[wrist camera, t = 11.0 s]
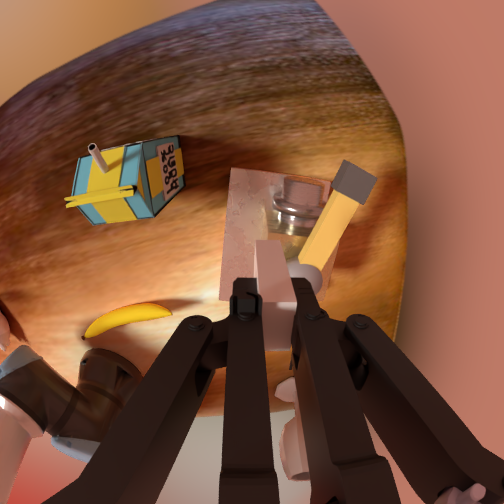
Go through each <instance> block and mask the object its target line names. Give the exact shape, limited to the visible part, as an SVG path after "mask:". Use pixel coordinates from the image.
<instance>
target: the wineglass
mask: <svg viewBox="0 0 504 504" xmlns="http://www.w3.org/2000/svg"><path fill="white" fill-rule="evenodd" d="M275 396H276V397H277V398H279V399H281V400H283V401H285V402H294V408H295V417H294V418H293V419H292V420H290V421H289V422H288V423H287V424H285V426H284V428H283V430H282V434H281V439H280V443H279V447H280V457H281V461H282V465H283V469H284V471H285V474H286V475H287V478H288V479H289V480H293V481H309V480H310V475H309V468H308V461H307V454H306V447H305V441H304V434H303V428H302V421H301V415H300V409H299V403H298V397H297V390H296V384H295V378H294V377H290V378H288V379H286V380H285V381H283V382H281V383H279V384H278V385H277V388H276V391H275Z"/></svg>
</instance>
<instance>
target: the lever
mask: <svg viewBox="0 0 504 504" xmlns="http://www.w3.org/2000/svg"><path fill="white" fill-rule="evenodd" d="M377 179H378V178H376V177H375V176H373V175H371V174H370V173H368V172H366V171H365V170H363V169H361V168H359V167H358V166H356V165H354V164H352V163H350V162H348V161H346V160H343V162H342V164H341V166H340V168H339V170H338V172H337V174H336V176H335V178H334V180H333V182H332V184H331V187H332V188H333V189H334V190H333V192H332V194H331V196H330V198H329V200H328V202H327V204H326V206H325V208H324V209H323V211H322V213H321V215H320V217H319V219H318V221H317V223H316V225H315V226H314V228H313V230H312V232H311V234H310V236H309V238H308V239H307V241H306V243H305V245H304V247H303V249H302V250H301V252H300V254H299V256H296V257H293V258H290V259H289V260H287V261H286V264H287V267H288V271H289V274H290V277H305V278H306V279H307V280H308V281H309V282H310V283H311V285H312V288H313V291H314V294H315V295H316V294H317V293H318V292H319V291H320V289H321V287H322V284H323V278H322V275H321V270H322V268H323V267H324V265H325V263H326V262H327V260H328V258H329V257H330V255H331V253H332V251H333V250H334V248H335V246H336V245H337V243H338V241H339V239H340V238H341V236H342V234H343V232H344V230H345V229H346V227H347V225H348V223H349V221H350V220H351V218H352V216H353V214H354V212H355V210H356V209H357V207H358V205H359V203H360V204H362V205H364V204H365V202H366V200H367V198H368V196H369V194H370V192H371V190H372V188H373V186H374V185H375V183H376V181H377Z"/></svg>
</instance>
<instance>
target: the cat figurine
mask: <svg viewBox="0 0 504 504" xmlns="http://www.w3.org/2000/svg"><path fill="white" fill-rule="evenodd" d="M9 337H10V328H9V324H8V321H7V319H6V318H5V316H4V315H3V314H2V313H1V310H0V348H1V349H2V350H3V351H6V345H7V346H9V345H10V339H9Z"/></svg>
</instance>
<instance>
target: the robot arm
mask: <svg viewBox="0 0 504 504" xmlns="http://www.w3.org/2000/svg"><path fill="white" fill-rule="evenodd" d="M291 344H292V355H291V361H290V367H289V370H292V366H293V372H294V378H295V384H296V390H297V397H298V403H299V409H300V415H301V421H302V428H303V434H304V441H305V447H306V454H307V461H308V468H309V475H310V481H311V498H310V504H401V501H400V498H399V494H398V491H397V487H396V484H395V480H394V477H393V473H392V471H391V467H390V465H389V463H388V460H387V459H386V458H385V457H383V456H379V455H378V454H377V453H376V451H375V448H374V445H373V441H372V438H371V436H370V432H369V429H368V426H367V423H366V420H365V417H364V414H365V416H366V417H367V419H368V420H369V422H370V423H371V425H372V426H373V428H374V430H375V431H376V433H377V434H378V436H379V437H380V439H381V440H382V442H383V443H384V445H385V446H386V448H387V449H388V451H389V453H390V454H391V456H392V457H393V459H394V460H395V462H396V464H397V465H398V467H399V468H400V470H401V471H402V473H403V474H404V476H405V477H406V479H407V481H408V482H409V484H410V485H411V487H412V488H413V490H414V491H415V492H416V494H417V495H418V496H419V497H420V498H421V500H422V501H423V502H424V503H425V504H503V503H504V460H503V459H501V458H500V457H498V456H497V455H495V454H493V453H492V452H490V451H489V450H487V449H485V448H484V447H482V445H481V444H480V443H479V441H478V440H477V439H476V438H475V436H474V435H473V434H472V433H471V431H470V430H469V429H468V428H467V427H466V425H465V424H464V423H463V422H462V420H461V419H460V418H459V417H458V416H457V414H456V413H455V412H454V411H453V410H452V408H451V407H450V406H449V405H448V404H447V402H446V401H445V400H444V399H443V398H442V397H441V396H440V394H439V393H438V392H437V391H436V390H435V388H434V387H433V386H432V385H431V384H430V383H429V382H428V380H427V379H426V378H425V377H424V376H423V375H422V373H421V372H420V371H419V370H418V369H417V368H416V367H415V366H414V365H413V363H412V362H411V361H410V360H409V359H408V358H407V357H406V356H405V354H404V353H403V352H402V351H401V350H400V349H399V348H398V347H397V346H396V344H395V343H394V342H393V341H392V340H391V339H390V338H389V337H388V336H387V335H386V334H385V332H384V331H383V330H382V329H381V328H380V327H379V326H378V325H377V324H376V323H375V322H374V321H373V320H372V319H371V318H370V317H368V316H365V315H362V314H353V315H350V316H349V317H348V318H347V319H346V322H344V321H338V320H334V319H331V318H329V316H328V314H327V312H326V311H325V310H323V309H322V308H320V307H319V304H318V301H317V298H316V296H315V294H314V291H313V288H312V285H311V283H310V282H309V281H308V280H307V279H306V278H305V277H290V274H289V271H288V267H287V264H286V260H285V256H284V253H283V249H282V246H281V242H280V240H255V255H254V278H247V277H237V278H236V280H235V281H234V282H233V289H232V295H231V297H230V314H229V316H228V317H227V318H225V319H223V320H221V321H217V322H212V321H211V320H210V319H209V318H207V317H205V316H201V315H194V316H189V317H187V318H185V319H184V320H183V321H182V322H181V323H180V324H179V326H178V327H177V329H176V330H175V332H174V333H173V335H172V336H171V337H170V339H169V340H168V342H167V343H166V345H165V346H164V348H163V349H162V351H161V352H160V354H159V355H158V357H157V358H156V360H155V361H154V363H153V364H152V366H151V367H150V369H149V370H148V372H147V373H146V375H145V376H144V378H143V377H142V375H141V374H140V372H139V371H138V370H137V368H136V367H135V366H134V365H133V364H131V363H130V362H129V361H128V360H126V359H125V358H123V357H121V356H120V355H118V354H116V353H113V352H111V351H107V350H103V349H91V350H88V351H87V352H86V353H85V354H84V356H83V358H82V360H81V362H80V368H79V376H78V384H77V386H76V388H75V387H74V386H73V385H71V384H70V383H69V382H68V381H67V380H65V379H64V378H63V377H62V376H61V375H60V374H59V373H57V372H56V371H55V370H54V369H53V368H52V367H51V366H50V365H49V364H48V363H47V362H46V361H45V360H43V357H41V356H39V355H38V354H37V353H36V352H35V351H33V350H32V349H31V348H30V347H29V346H27V345H21V346H19V347H18V348H17V349H16V350H14V351H13V352H12V353H11V354H10V355H9V356H8V357H7V358H6V359H5V360H4V361H3V362H2V363H1V365H0V504H7V501H8V498H9V495H10V492H11V489H12V486H13V483H14V481H15V478H16V475H17V473H18V470H19V468H20V465H21V463H22V460H23V458H24V455H25V453H26V450H27V448H28V446H29V444H30V441H31V439H32V438H36V437H42V436H43V434H44V432H45V431H46V432H48V433H49V434H50V435H52V437H51V443H52V445H53V446H54V447H56V449H58V450H59V451H61V452H62V453H64V454H66V455H68V456H70V457H73V458H75V459H78V460H80V461H84V462H87V463H88V464H87V465H86V467H85V468H84V470H83V472H82V473H81V475H80V476H79V478H78V479H76V480H75V481H74V482H72V483H71V484H69V485H68V486H66V487H65V488H64V489H62V490H61V491H59V492H58V493H56V494H55V495H53V496H52V497H50V498H49V499H47V500H46V501H44V502H43V503H41V504H155V503H156V501H157V499H158V497H159V494H160V492H161V490H162V488H163V486H164V484H165V482H166V480H167V477H168V475H169V473H170V471H171V469H172V467H173V464H174V462H175V460H176V458H177V456H178V454H179V451H180V449H181V447H182V444H183V443H184V440H185V438H186V436H187V434H188V432H189V429H190V427H191V425H192V423H193V421H194V418H195V416H196V414H197V412H198V409H199V407H200V405H201V403H202V401H203V398H204V396H205V394H206V392H207V389H208V387H209V385H210V383H211V380H212V378H213V376H214V374H215V370H216V369H217V368H222V367H226V366H227V367H226V384H225V402H224V422H223V444H222V467H221V472H220V481H219V504H280V501H279V489H278V479H277V474H276V472H275V469H274V460H273V449H272V436H271V422H270V410H269V398H268V385H267V373H266V361H265V351H290V347H291Z"/></svg>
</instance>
